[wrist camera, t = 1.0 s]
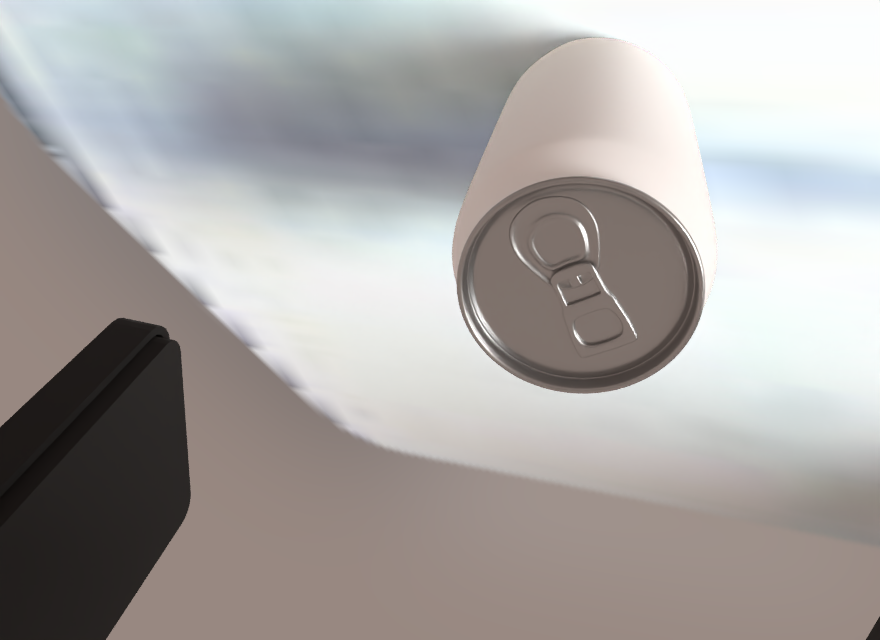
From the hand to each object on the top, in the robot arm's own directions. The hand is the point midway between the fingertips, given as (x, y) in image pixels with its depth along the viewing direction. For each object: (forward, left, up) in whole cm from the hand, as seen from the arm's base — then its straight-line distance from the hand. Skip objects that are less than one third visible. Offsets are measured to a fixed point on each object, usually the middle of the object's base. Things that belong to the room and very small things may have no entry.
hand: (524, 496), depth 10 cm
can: (-2, 0, -21) cm, 21 cm away
